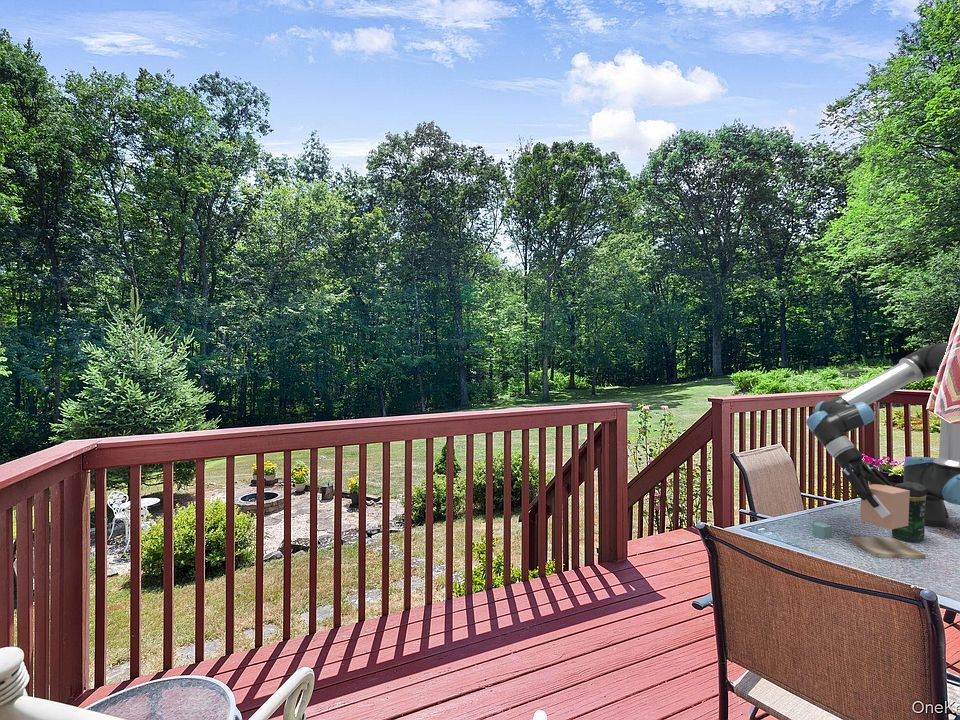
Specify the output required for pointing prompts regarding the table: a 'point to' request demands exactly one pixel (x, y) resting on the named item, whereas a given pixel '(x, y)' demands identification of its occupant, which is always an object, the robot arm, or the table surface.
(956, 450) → the robot arm
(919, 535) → the coffee jar
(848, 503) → the table surface
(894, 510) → the cover
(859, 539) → the pad
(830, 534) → the block
